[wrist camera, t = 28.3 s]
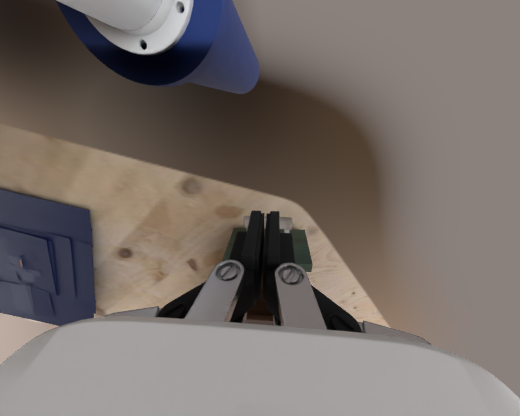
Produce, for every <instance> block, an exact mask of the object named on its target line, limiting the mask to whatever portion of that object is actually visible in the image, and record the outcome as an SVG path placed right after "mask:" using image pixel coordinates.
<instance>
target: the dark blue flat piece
mask: <svg viewBox="0 0 520 416" xmlns="http://www.w3.org/2000/svg"><path fill="white" fill-rule="evenodd" d="M92 248H93V246H92V228H91V223H90V213H89V210H86V209H82V208H78V207H73V206H69V205H65V204H61V203H56V202H52V201H48V200H44V199H39V198H35V197H31V196H26V195H22V194H18V193H14V192H9V191H6V190H3V189H0V313H4V314H9V315H13V316H18V317H23V318H27V319H32V320H37V321H41V322H45V323H49V324H54V325H58V326H62V325H65V324H69V323H72V322H76V321H80V320H84V319H90V318H94V313H95V314H96V301H95V292H94V274H93V256H92Z"/></svg>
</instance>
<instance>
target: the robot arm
mask: <svg viewBox="0 0 520 416" xmlns="http://www.w3.org/2000/svg"><path fill="white" fill-rule="evenodd" d="M56 1H59V2H61V3H63V4H65V5H67V6H69V7H71V8H74V9H76V10H78V11H80V12H82V13H84V14H85V15H86V17H87V18H88V20H89V21H90V22H91V23H92V24H93V25H94V27H95V28H96V29H97V30H98V31H99V32H100V33H101V34H102V35H103V36H104V37H106V38H107V39H108V40H109V41H110V42H112V43H114V44H115V45H117V46H118V47H120V48H122V49H124V50H127V51H129V52H132V53H136V54H139V55H149V56H153V55H157V54H161V53H164V52H165V51H167V50H169V49H171V48H172V47H173V46H174V45H175V44H176V43H177V42H178V41H179V40H180V38H181V37H182V35H183V34H184V32H185V30H186V28H187V26H188V23H189V21H190V17H191V13H192V8H193V1H194V0H56ZM183 8H184V12H183V13H182V9H183ZM146 44H147V48H146ZM262 270H263V301H267V303H266V308H267V309H268V310H269V311H270V312H271V313H272V314H273V321H274V325H260V324H247V323H245V321H246V318H247V312H248V311H249V310H250V309H252V308H253V307H255V304H256V300H260V292H261V281H262ZM0 416H520V399H519V398H518V397H517V396H516V395H515V394H514V393H513V392H512V391H511V390H510V389H509V388H508V387H507V386H506V385H505V384H503V383H502V382H501V381H500V380H499V379H497V378H496V377H495V376H493V375H492V374H491V373H489V372H488V371H486V370H484V369H483V368H481V367H480V366H478V365H476V364H474V363H473V362H471V361H469V360H467V359H464V358H463V357H461V356H458V355H456V354H453V353H451V352H449V351H446V350H444V349H441V348H439V347H436V346H433V345H431V344H430V343H429V342H428V341H426V340H425V339H423V338H421V337H419V336H416V335H413V334H409V333H406V332H402V331H399V330H395V329H392V328H388V327H385V326H381V325H378V324H374V323H371V322H367V321H363V323H361V322H357V321H356V320H355V319H354V318H353V317H352V316H351V315H350V314H349V313H347V312H346V311H345V310H343V309H342V308H341V307H339V306H338V305H337V304H335V303H334V302H333V301H332V300H330V299H329V298H328V297H326V296H325V295H324V294H322V293H321V292H320V291H318V290H317V289H316V288H314V287H313V286H312V285H311V284H310V281H309V278H308V276H307V273H306V271H305V270H304V269H303V268H302V267H301V266H299V265H297V264H295V256H294V248H293V239H292V233H280V225H279V212H278V211H270V214H267V217H266V227H265V238H264V213H261V211H252V212H251V216H250V220H249V224H248V228H247V231H238V232H237V235H236V238H235V241H234V244H233V248H232V251H231V254H230V257H229V260H226V261H223V262H220V263H219V264H217V265H216V266H215V268H214V269H213V271H212V272H211V274H210V276H209V278H208V279H207V281H206V282H204V283H202V284H201V285H199V286H197V287H196V288H194V289H192V290H190V291H189V292H187V293H185V294H183V295H182V296H180V297H178V298H177V299H175V300H173V301H171V302H170V303H168V304H167V305H165V306H164V307H163V308H160V309H159V306H156V307H150V308H143V309H136V310H130V311H123V312H116V313H112V314H109V315H106V316H105V317H96V318H90V319H84V320H80V321H76V322H72V323H69V324H65V325H62V326H59V327H56V328H54V329H51V330H49V331H47V332H44V333H43V334H41V335H39V336H37V337H35V338H34V339H32V340H31V341H29V342H28V343H26V344H25V345H24V346H22V347H21V348H20V349H19V350H17V351H16V352H15V353H13V354H12V355H11V356H10V357H9V358H7V359H6V360H5V361H4V362H3V363H2V364H0Z"/></svg>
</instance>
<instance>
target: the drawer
mask: <svg viewBox="0 0 520 416" xmlns="http://www.w3.org/2000/svg"><path fill="white" fill-rule="evenodd" d="M249 220H250V216H245V218H244V228H234V229H233V232H232V235H231V238H230V240H229V243H228V246H227V249H226V252H225V255H224V258H223V261H226V260H229V257H230V254H231V251H232V248H233V244H234V241H235V238H236V235H237V232H238V231H247V228H248V224H249ZM279 225H280V233H292V239H293V248H294V256H295V264H297V265H299V266H301V267H302V268H303V269H304V270H305V271H306V272H311V270H312V260H311V256H310V251H309V247H308V243H307V238H306V234H305V230H291V229H292V218H291V217H279ZM265 227H266V217H264V238H265ZM266 303H267V301H263V270H262V281H261V292H260V300H256V304H255V307H253V308H252V309H250V310H249V311H248V312H247V314H254V315H269V316H273V314H272V313H271V312H270V311H269V310H268V309H267V308H266Z"/></svg>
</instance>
